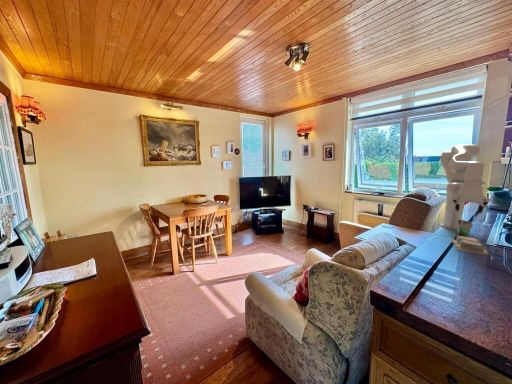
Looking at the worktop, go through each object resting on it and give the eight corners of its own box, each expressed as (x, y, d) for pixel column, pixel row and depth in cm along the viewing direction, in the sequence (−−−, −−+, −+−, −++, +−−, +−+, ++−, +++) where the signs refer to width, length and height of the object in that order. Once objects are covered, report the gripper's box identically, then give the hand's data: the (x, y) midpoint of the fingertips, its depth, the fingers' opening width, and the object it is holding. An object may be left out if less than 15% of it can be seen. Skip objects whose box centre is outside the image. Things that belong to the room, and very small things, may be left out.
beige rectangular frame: (451, 240, 131) (452, 234, 131) (479, 244, 125) (480, 238, 124) (457, 250, 118) (458, 242, 118) (488, 255, 112) (490, 247, 111)
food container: (472, 242, 129) (474, 225, 127) (457, 240, 132) (460, 224, 131) (468, 236, 138) (471, 220, 137) (455, 234, 142) (458, 219, 140)
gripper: (490, 183, 128) (486, 212, 131) (451, 181, 137) (448, 208, 140) (495, 184, 122) (490, 214, 125) (454, 182, 131) (450, 210, 134)
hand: (468, 211), depth 132 cm, fingers open, 9 cm apart
